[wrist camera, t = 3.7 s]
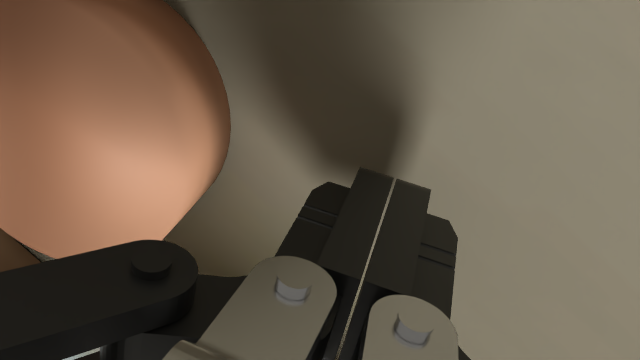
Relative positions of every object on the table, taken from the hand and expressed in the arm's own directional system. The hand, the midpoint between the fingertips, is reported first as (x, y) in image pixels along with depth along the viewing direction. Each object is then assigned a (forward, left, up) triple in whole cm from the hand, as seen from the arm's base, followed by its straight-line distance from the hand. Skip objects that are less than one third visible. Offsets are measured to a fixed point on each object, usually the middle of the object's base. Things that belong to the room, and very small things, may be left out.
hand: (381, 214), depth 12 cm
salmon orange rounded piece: (+7, 0, -1) cm, 7 cm away
